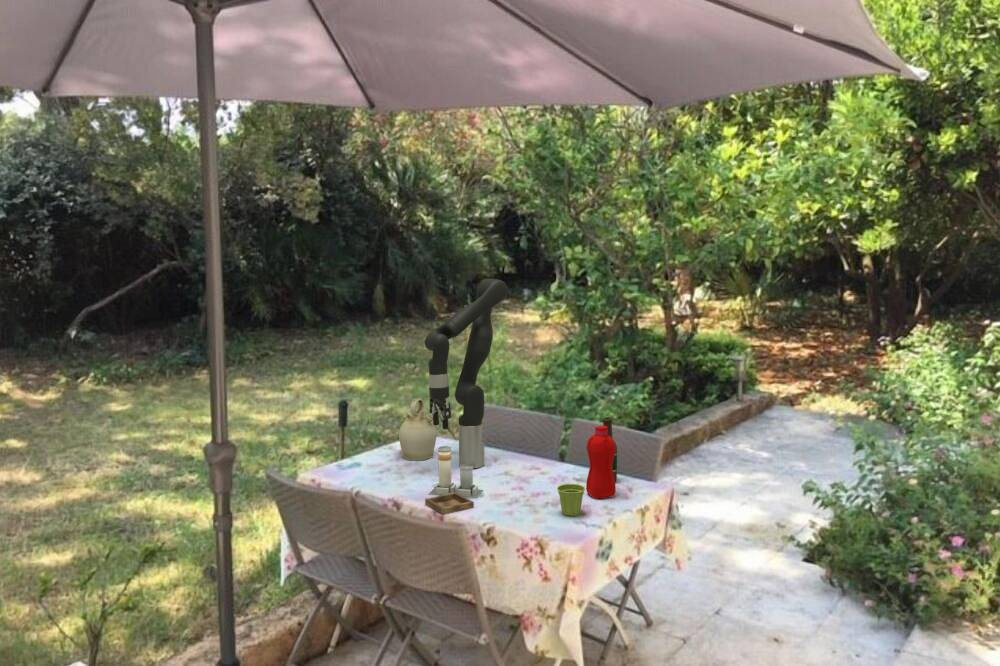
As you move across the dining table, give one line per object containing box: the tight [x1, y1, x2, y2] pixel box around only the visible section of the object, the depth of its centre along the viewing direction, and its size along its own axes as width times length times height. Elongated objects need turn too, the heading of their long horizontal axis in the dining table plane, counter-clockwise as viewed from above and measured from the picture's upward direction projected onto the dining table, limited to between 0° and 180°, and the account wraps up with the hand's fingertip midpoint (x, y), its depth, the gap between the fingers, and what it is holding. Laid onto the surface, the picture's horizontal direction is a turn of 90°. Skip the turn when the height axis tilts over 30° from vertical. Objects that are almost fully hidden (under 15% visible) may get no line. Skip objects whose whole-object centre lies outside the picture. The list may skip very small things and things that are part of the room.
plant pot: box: [556, 483, 586, 517], centre depth 270 cm, size 9×9×9 cm
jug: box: [398, 397, 437, 461], centre depth 336 cm, size 15×16×25 cm
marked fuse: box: [437, 445, 452, 493], centre depth 290 cm, size 5×5×16 cm
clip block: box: [427, 482, 484, 499], centre depth 290 cm, size 18×9×3 cm, turn 76°
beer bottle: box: [602, 416, 618, 483], centre depth 302 cm, size 8×8×24 cm
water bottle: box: [585, 425, 617, 500], centre depth 287 cm, size 9×11×25 cm
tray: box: [424, 492, 475, 516], centre depth 276 cm, size 12×12×3 cm
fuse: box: [459, 464, 474, 494], centre depth 289 cm, size 4×4×10 cm
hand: (440, 427), depth 312 cm, fingers open, 8 cm apart
